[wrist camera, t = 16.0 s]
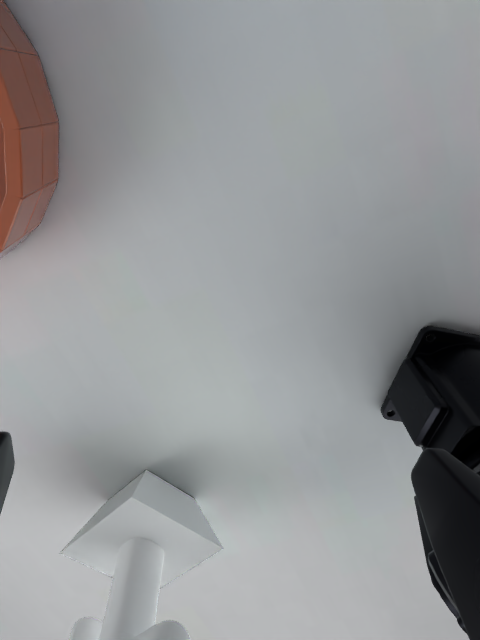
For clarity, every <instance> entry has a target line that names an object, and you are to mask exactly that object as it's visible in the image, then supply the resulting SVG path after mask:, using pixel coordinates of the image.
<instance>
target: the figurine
mask: <svg viewBox="0 0 480 640" xmlns="http://www.w3.org/2000/svg"><path fill="white" fill-rule="evenodd" d="M222 549H224V548H223V546H222V545H221V543H220V541H219V540H218V538H217V536H216V534H215V533H214V531H213V529H212V528H211V526H210V524H209V522H208V521H207V519H206V517H205V516H204V514H203V512H202V510H201V509H200V507H199V505H198V504H197V502H196V500H195V499H194V498H193V497H191V496H189V495H188V494H186V493H184V492H183V491H181V490H179V489H178V488H176V487H174V486H173V485H171V484H169V483H168V482H166V481H164V480H163V479H161V478H159V477H158V476H156V475H154V474H153V473H151V472H149V471H148V470H145V471H144V472H143V473H142V474H140V475H139V476H138V477H137V478H135V479H134V480H133V481H132V482H130V483H129V484H128V485H127V486H125V487H124V488H123V489H122V490H120V491H119V492H118V493H117V494H115V495H114V496H113V497H112V498H110V499H109V500H108V501H107V502H106V503H105V504H104V505H103V506H102V507H101V508H100V509H99V510H98V512H97V513H96V514H95V515H94V516H93V517H92V518H91V519H90V520H89V521H88V522H87V524H86V525H85V526H84V527H83V528H82V529H81V530H80V531H79V532H78V533H77V534H76V536H75V537H74V538H73V539H72V540H71V541H70V542H69V543H68V544H67V545H66V546H65V548H64V549H63V550H62V551H61V552H60V553H59V554H61V555H64V556H66V557H68V558H70V559H72V560H74V561H77V562H79V563H81V564H83V565H85V566H88V567H90V568H92V569H94V570H96V571H98V572H101V573H103V574H105V575H107V576H109V577H111V578H113V579H112V584H111V588H110V592H109V597H108V601H107V606H106V610H105V614H104V619H103V621H101V620H99V619H96V618H93V617H84V618H81V619H79V620H78V621H77V622H76V623H75V624H74V626H73V628H72V630H71V633H70V637H69V640H190V637H189V634H188V632H187V630H186V629H185V628H184V627H183V626H182V625H181V624H180V623H179V622H176V621H173V620H166V621H162V622H160V623H157V624H156V625H155V620H156V612H157V605H158V597H159V589H161V588H163V587H164V586H166V585H167V584H169V583H170V582H172V581H174V580H175V579H177V578H178V577H180V576H181V575H183V574H185V573H186V572H188V571H189V570H191V569H192V568H194V567H195V566H197V565H199V564H200V563H202V562H203V561H205V560H206V559H208V558H210V557H211V556H213V555H214V554H216V553H217V552H219V551H220V550H222Z"/></svg>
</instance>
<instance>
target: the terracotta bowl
mask: <svg viewBox="0 0 480 640" xmlns="http://www.w3.org/2000/svg"><path fill="white" fill-rule="evenodd" d="M58 121H59V120H58V117H57V113H56V110H55V107H54V104H53V101H52V97H51V94H50V91H49V88H48V85H47V81H46V78H45V75H44V72H43V69H42V65H41V62H40V59H39V56H38V54H37V52H36V50H35V49H34V47H33V46H32V44H31V43H30V41H29V39H28V38H27V36H26V35H25V33H24V32H23V30H22V29H21V27H20V25H19V24H18V22H17V21H16V19H15V18H14V16H13V15H12V13H11V11H10V10H9V8H8V7H7V5H6V4H5V2H4V0H0V259H1V258H3V257H4V256H5V255H7V254H8V253H9V252H10V251H11V250H13V249H14V248H15V247H16V246H17V245H18V244H19V243H20V242H21V241H22V240H23V239H25V238H26V237H27V236H28V235H29V234H30V233H31V232H32V231H33V230H34V229H35V228H37V227H38V226H39V224H40V223H41V221H42V218H43V216H44V214H45V211H46V209H47V206H48V204H49V201H50V199H51V197H52V194H53V192H54V189H55V187H56V185H57V182H58V166H59V123H58Z"/></svg>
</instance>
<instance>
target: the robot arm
mask: <svg viewBox="0 0 480 640" xmlns="http://www.w3.org/2000/svg"><path fill="white" fill-rule="evenodd" d="M429 334H432V335H431V336H430V337H428V338H426V337H427V335H429ZM390 410H392V411H390ZM388 411H390V412H388ZM381 413H382V415H383V417H384V418H385V419H388V420H394V421H401V422H403V424H404V425H405V427H406V429H407V431H408V433H409V435H410V437H411V438H412V440H413V442H414V444H415V445H416V446H419V447H422V449H423V452H422V454H421V455H420V457H419V459H418V461H417V463H416V464H415V466H414V468H413V470H412V473H411V480H412V484H413V487H414V491H415V494H416V496H415V497H414V499H415V504H416V509H417V515H418V520H419V525H420V530H421V536H422V541H423V546H424V551H425V557H426V562H427V566H428V570H429V573H430V576H431V580H432V583H433V585H434V587H435V588H436V590H437V591H438V592H439V594H440V596H441V598H442V599H443V601H444V602H445V603H446V605H447V606H448V608H449V609H450V611H451V612H452V613H453V614H454V616H455V617H456V618H457V622H458V624H459V625H460V627H461V628H462V629H463V630H464V631H465V632H466V633H467V634H468V637H469V639H470V640H480V335H476V334H470V333H465V332H460V331H455V330H449V329H444V328H439V327H434V326H427V327H424V328H423V329H421V331H420V332H419V334H418V336H417V338H416V340H415V342H414V344H413V346H412V348H411V350H410V352H409V354H408V355H407V357H406V359H405V360H404V361H403V363H402V365H401V367H400V369H399V371H398V373H397V375H396V377H395V379H394V381H393V383H392V385H391V387H390V389H389V391H388V395H387V397H386V399H385V401H384V403H383V405H382V407H381ZM14 463H15V461H14V453H13V446H12V439H11V435H10V433H8V432H0V514H1V511H2V507H3V504H4V501H5V497H6V494H7V491H8V488H9V484H10V481H11V478H12V474H13V471H14Z"/></svg>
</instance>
